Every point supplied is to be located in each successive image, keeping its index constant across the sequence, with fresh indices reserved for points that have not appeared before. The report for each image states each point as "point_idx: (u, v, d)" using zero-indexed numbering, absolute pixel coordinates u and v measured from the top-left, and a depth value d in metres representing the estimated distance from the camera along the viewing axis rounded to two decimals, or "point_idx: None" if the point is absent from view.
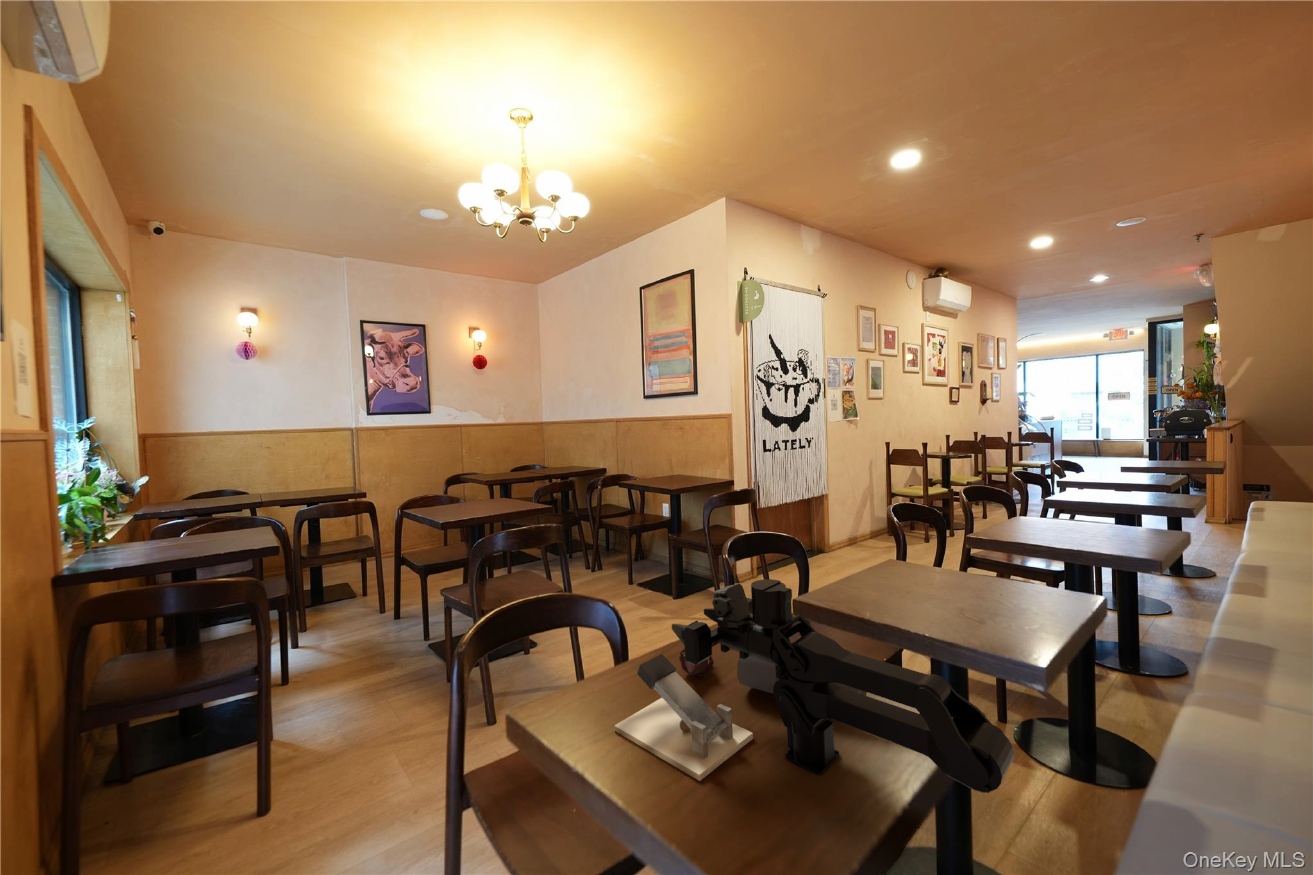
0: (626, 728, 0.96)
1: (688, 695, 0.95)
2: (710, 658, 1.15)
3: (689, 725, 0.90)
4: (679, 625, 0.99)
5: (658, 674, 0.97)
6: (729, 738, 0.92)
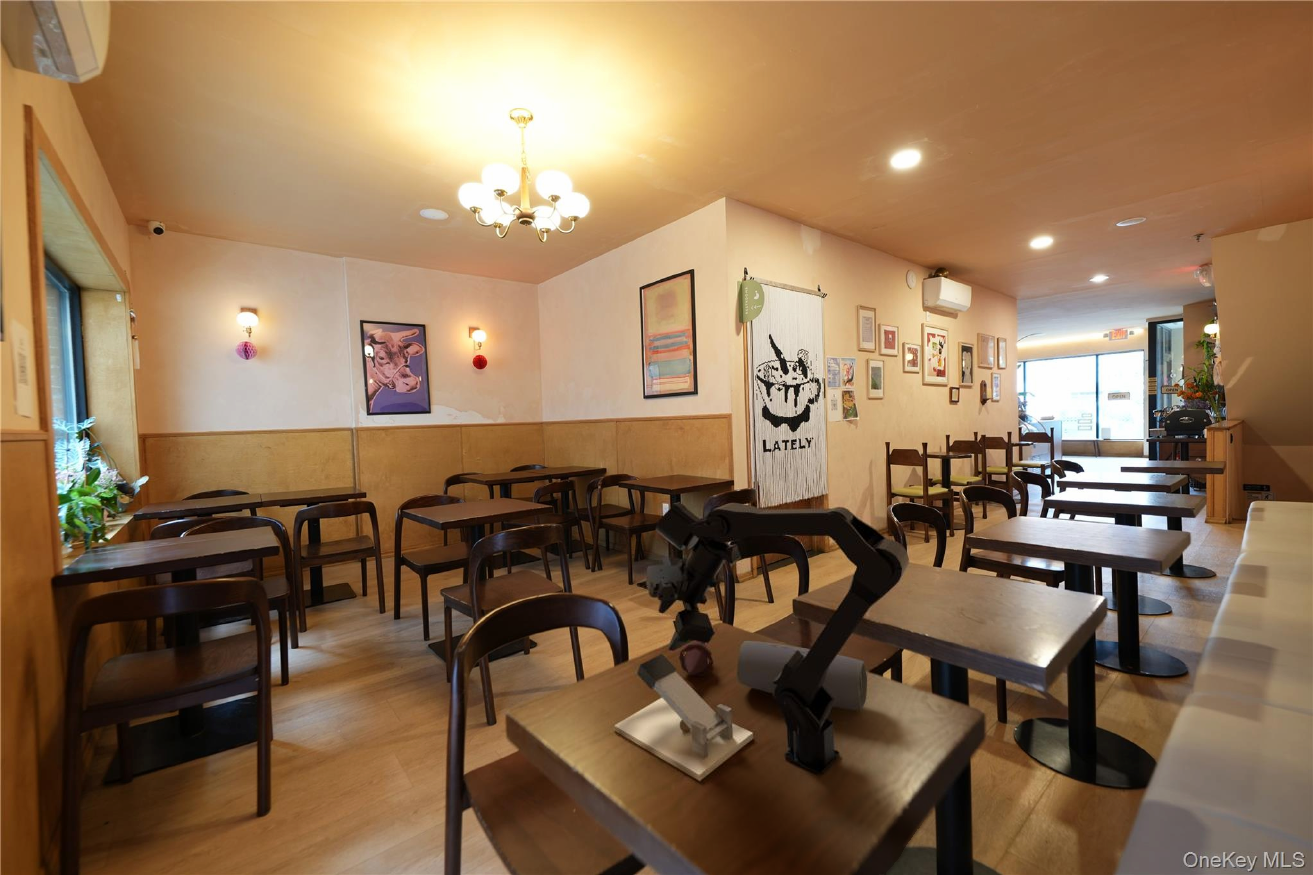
0: (626, 728, 0.96)
1: (688, 695, 0.95)
2: (709, 658, 1.15)
3: (689, 725, 0.90)
4: (672, 641, 0.96)
5: (658, 674, 0.97)
6: (729, 738, 0.92)
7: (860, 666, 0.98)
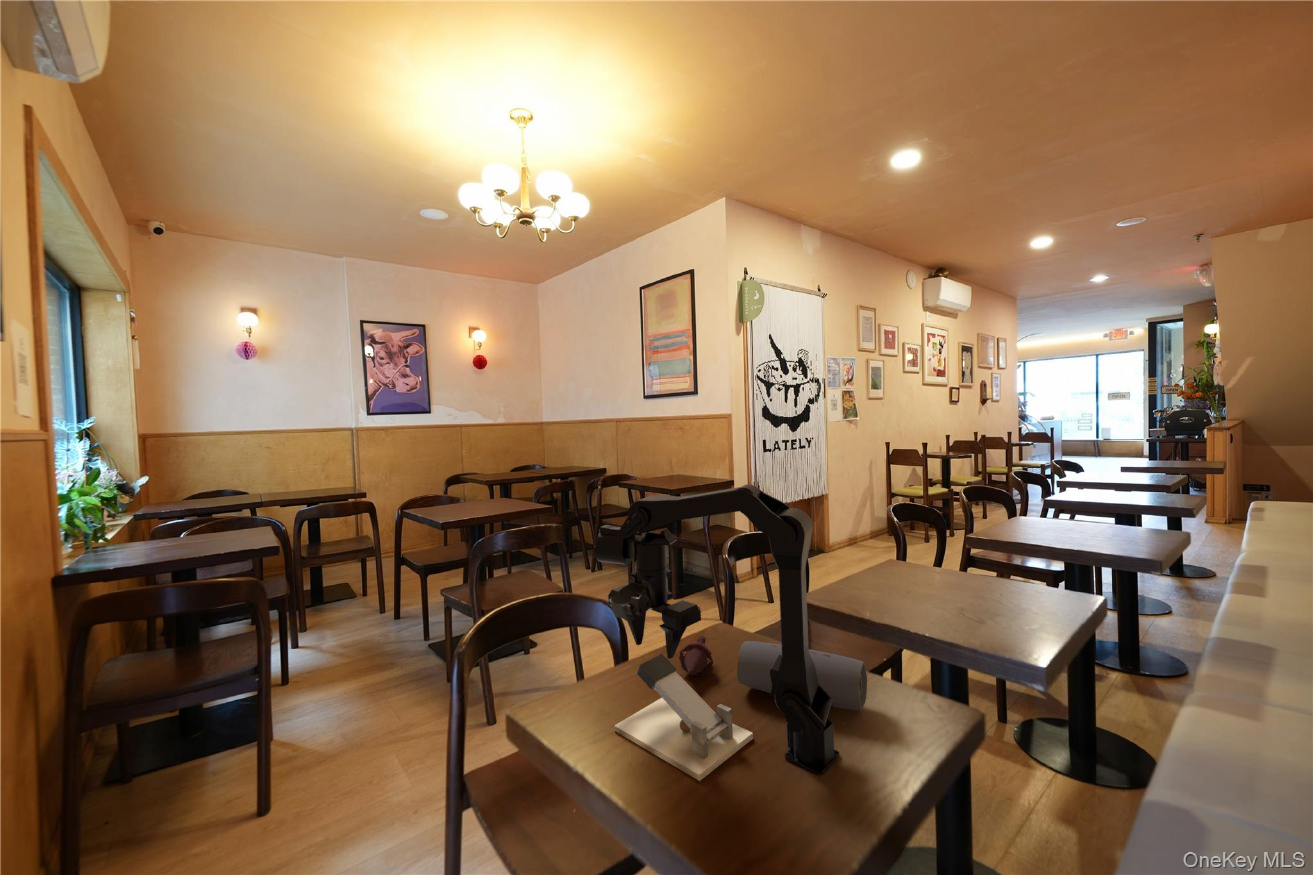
0: (626, 728, 0.96)
1: (688, 695, 0.95)
2: (709, 658, 1.15)
3: (689, 725, 0.90)
4: (668, 647, 0.95)
5: (658, 674, 0.97)
6: (729, 738, 0.92)
7: (860, 666, 0.98)
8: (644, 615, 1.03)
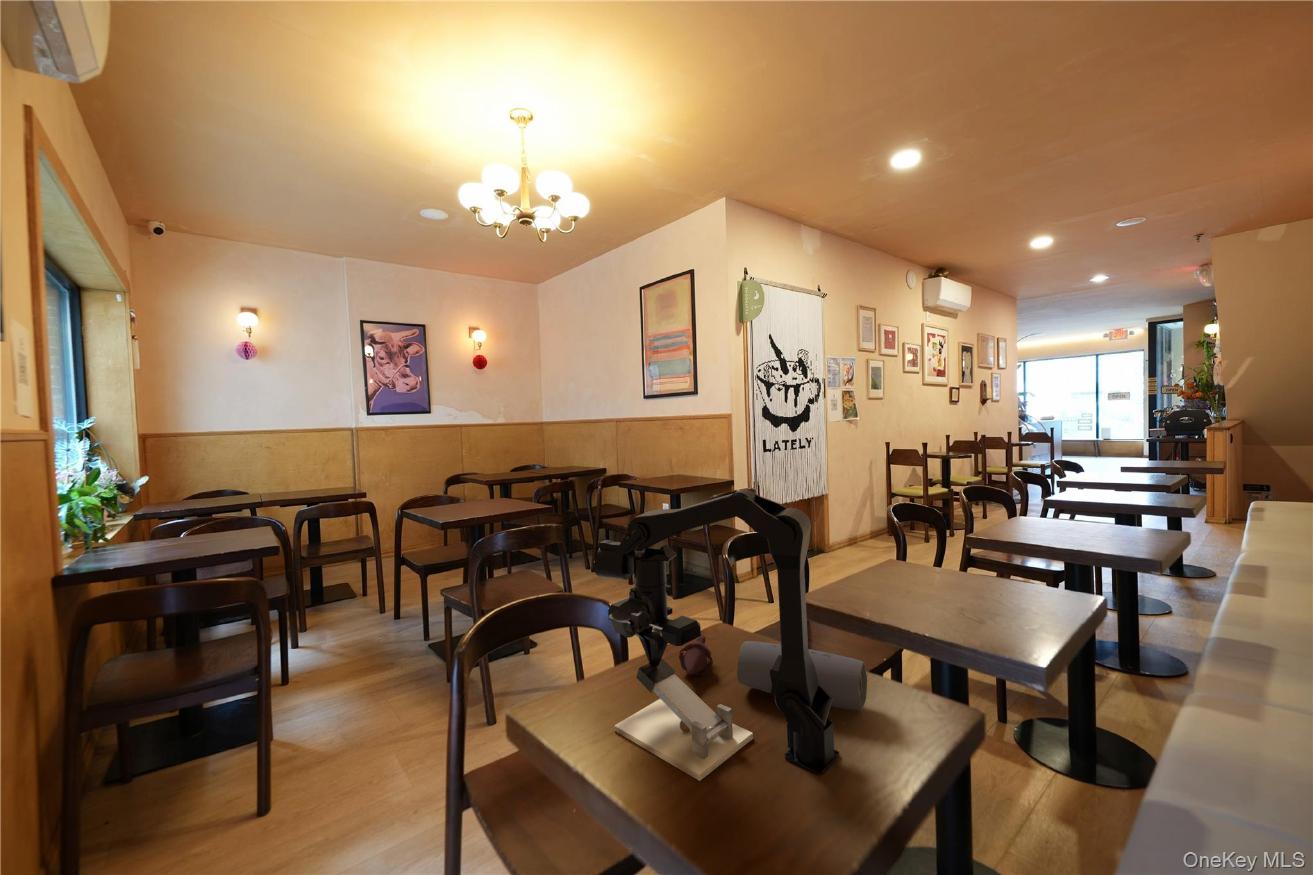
0: (626, 728, 0.96)
1: (687, 696, 0.95)
2: (709, 657, 1.15)
3: (689, 726, 0.90)
4: (653, 656, 0.98)
5: (656, 676, 0.97)
6: (729, 738, 0.92)
7: (860, 666, 0.98)
8: None
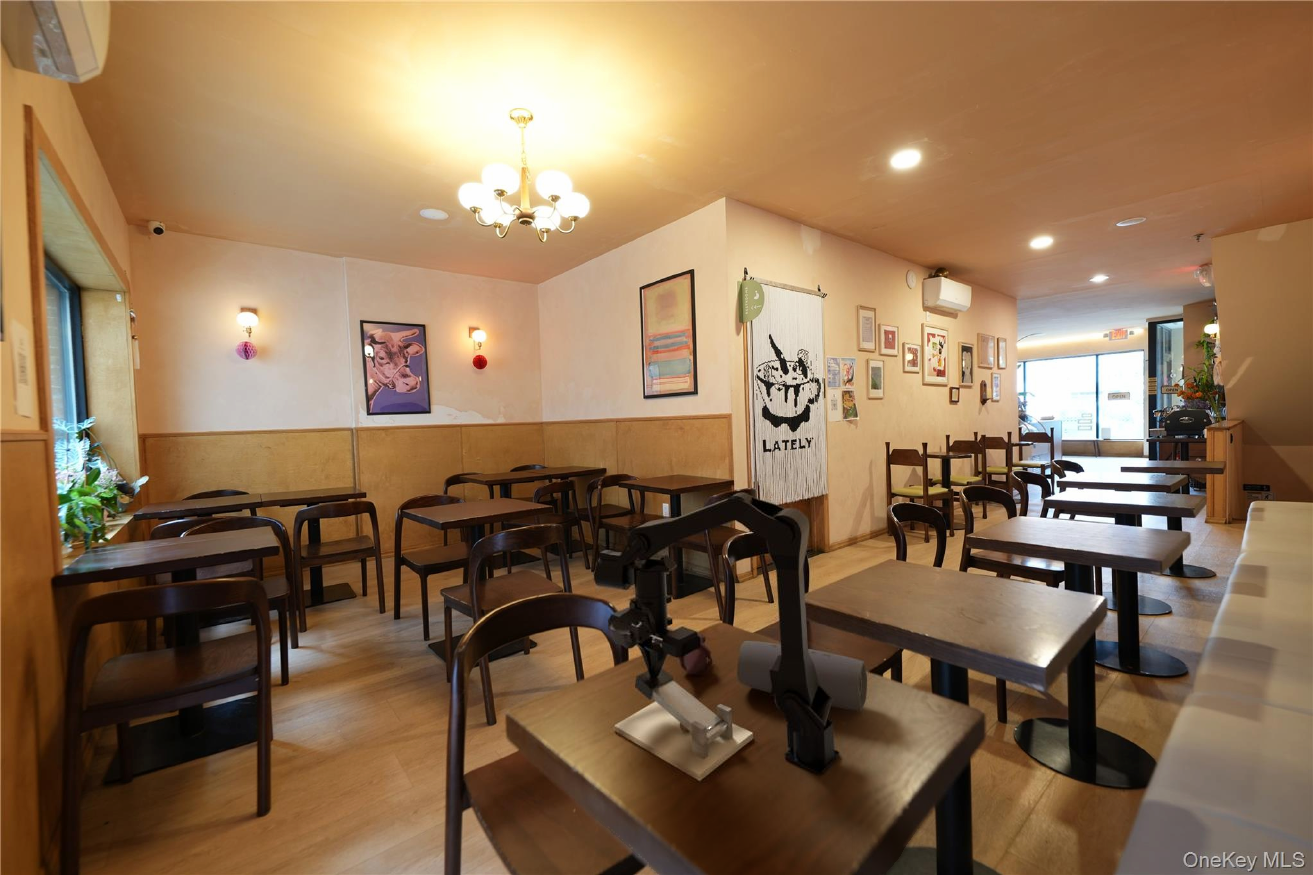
0: (626, 728, 0.96)
1: (686, 700, 0.95)
2: (708, 657, 1.16)
3: (689, 728, 0.90)
4: (653, 666, 0.98)
5: (654, 683, 0.98)
6: (729, 738, 0.92)
7: (860, 666, 0.98)
8: None
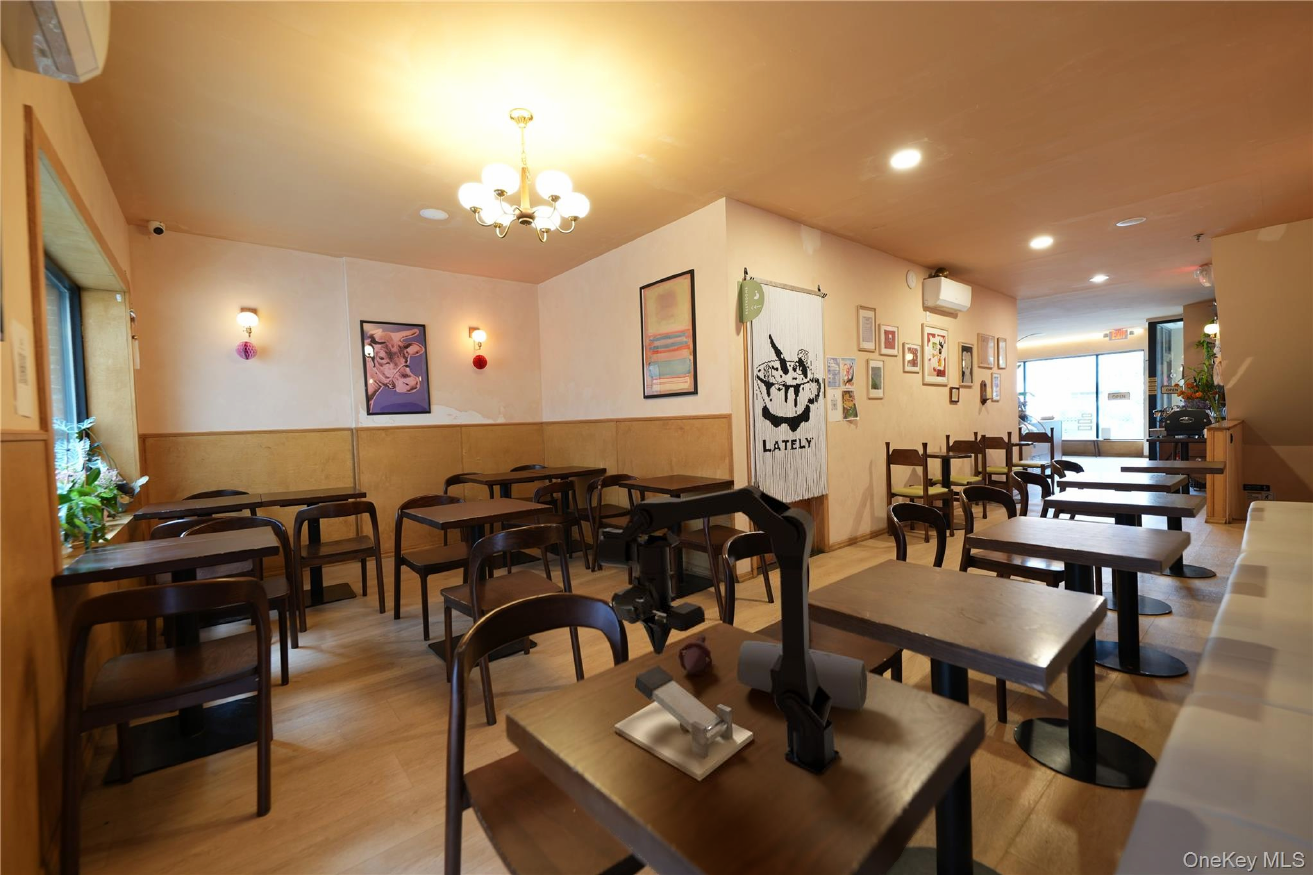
0: (626, 728, 0.96)
1: (686, 700, 0.95)
2: (708, 657, 1.16)
3: (689, 728, 0.90)
4: (657, 643, 0.97)
5: (654, 683, 0.98)
6: (729, 738, 0.92)
7: (860, 666, 0.98)
8: None
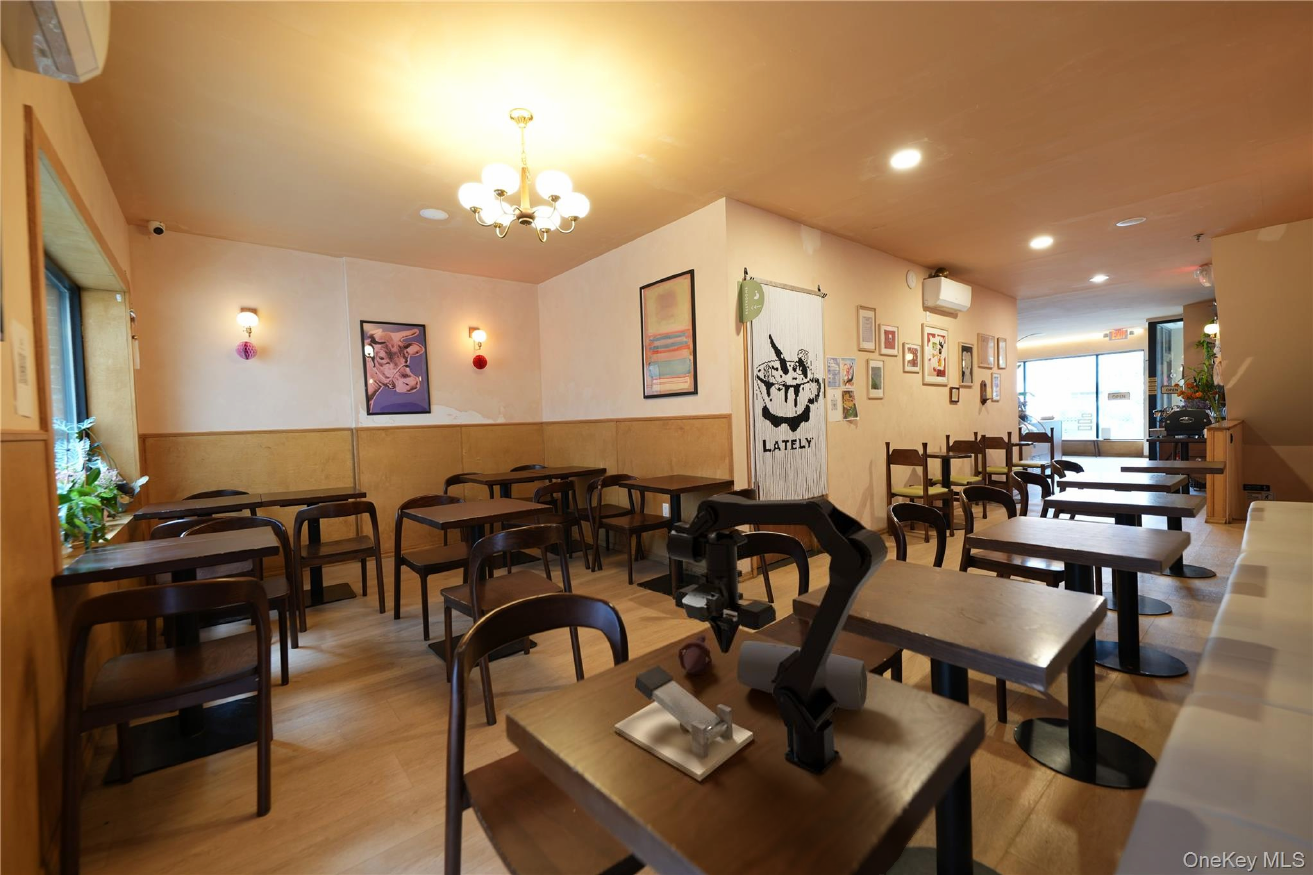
0: (626, 728, 0.96)
1: (686, 700, 0.95)
2: (708, 657, 1.16)
3: (689, 728, 0.90)
4: (724, 642, 0.96)
5: (654, 683, 0.98)
6: (729, 738, 0.92)
7: (860, 666, 0.98)
8: None
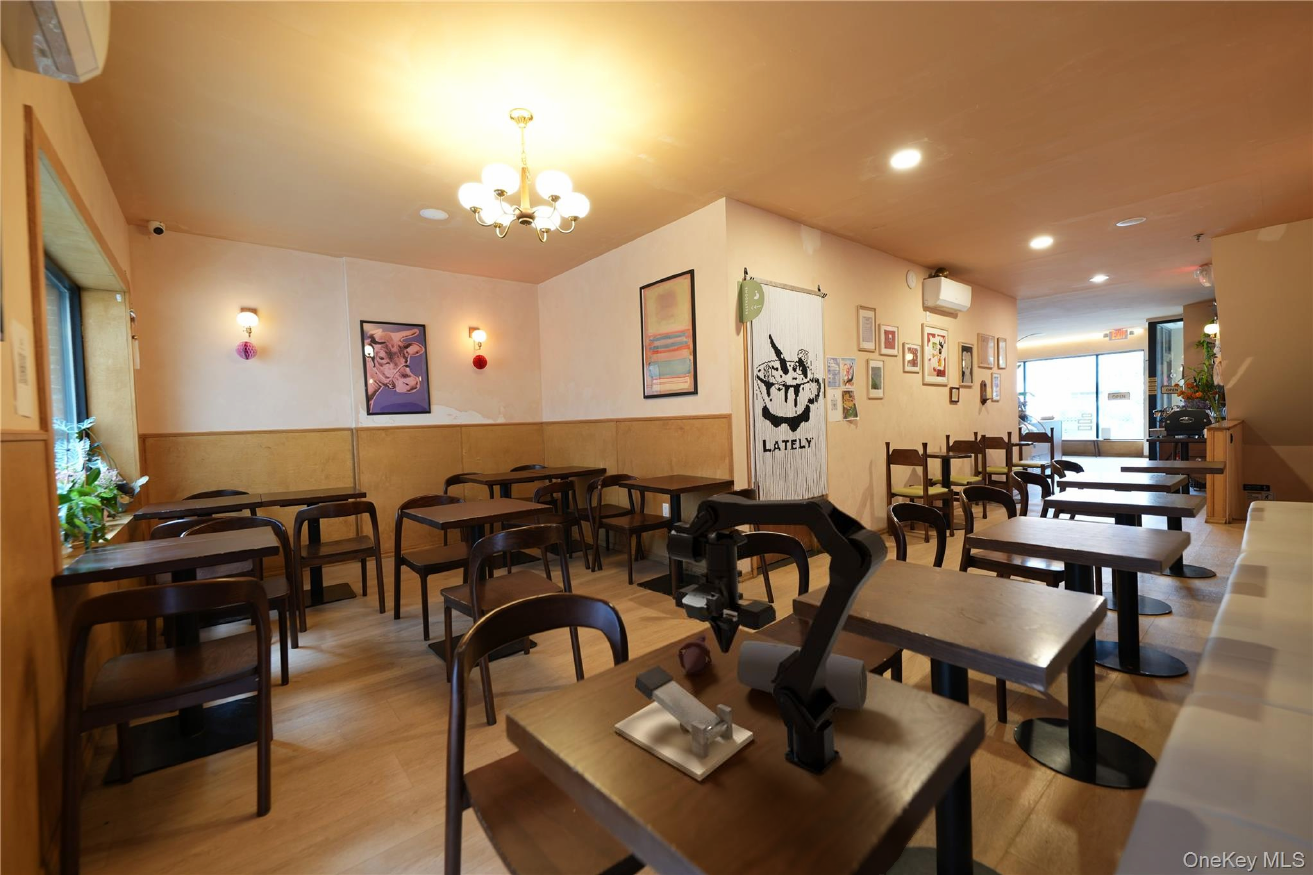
0: (626, 728, 0.96)
1: (686, 700, 0.95)
2: (708, 656, 1.16)
3: (689, 728, 0.90)
4: (724, 642, 0.96)
5: (654, 683, 0.98)
6: (729, 738, 0.92)
7: (860, 665, 0.98)
8: None
